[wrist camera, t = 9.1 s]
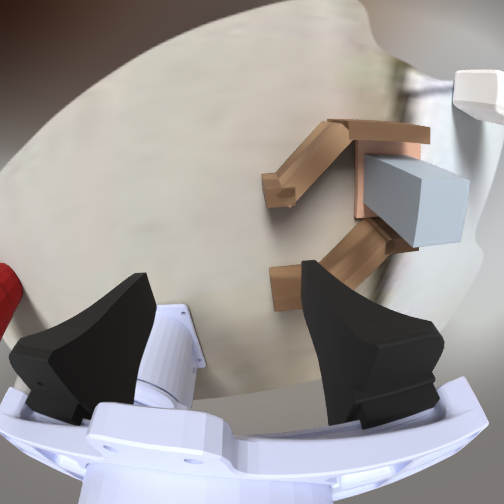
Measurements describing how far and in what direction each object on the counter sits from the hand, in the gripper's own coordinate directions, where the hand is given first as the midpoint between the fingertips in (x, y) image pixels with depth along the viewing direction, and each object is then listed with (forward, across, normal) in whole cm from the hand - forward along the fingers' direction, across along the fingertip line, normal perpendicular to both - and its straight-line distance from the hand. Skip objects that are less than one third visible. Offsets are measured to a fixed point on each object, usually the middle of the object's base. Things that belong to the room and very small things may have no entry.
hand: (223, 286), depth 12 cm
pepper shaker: (+10, -22, -11) cm, 27 cm away
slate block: (+10, -12, -2) cm, 16 cm away
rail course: (+10, -8, 0) cm, 13 cm away
